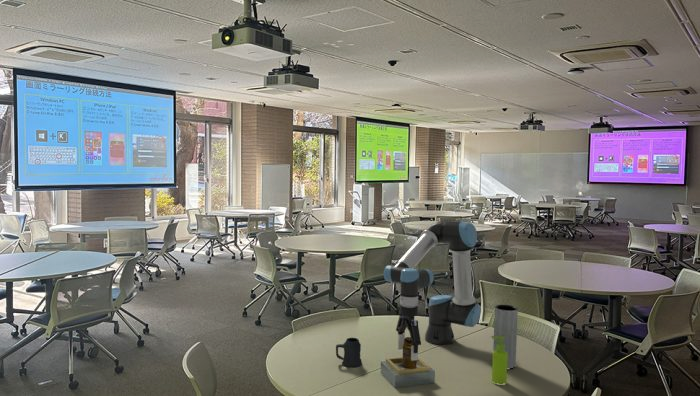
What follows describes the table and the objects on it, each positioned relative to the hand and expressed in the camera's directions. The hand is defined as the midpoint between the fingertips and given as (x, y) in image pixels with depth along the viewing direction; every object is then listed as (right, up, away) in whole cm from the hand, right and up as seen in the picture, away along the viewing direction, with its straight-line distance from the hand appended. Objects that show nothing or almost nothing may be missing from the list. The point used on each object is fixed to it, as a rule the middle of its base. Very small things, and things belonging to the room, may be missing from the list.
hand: (407, 354), depth 225 cm
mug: (-25, -9, +16) cm, 31 cm away
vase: (+46, -10, +17) cm, 50 cm away
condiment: (0, -5, 0) cm, 5 cm away
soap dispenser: (+38, -11, -3) cm, 39 cm away
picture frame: (-1, -10, +2) cm, 10 cm away
